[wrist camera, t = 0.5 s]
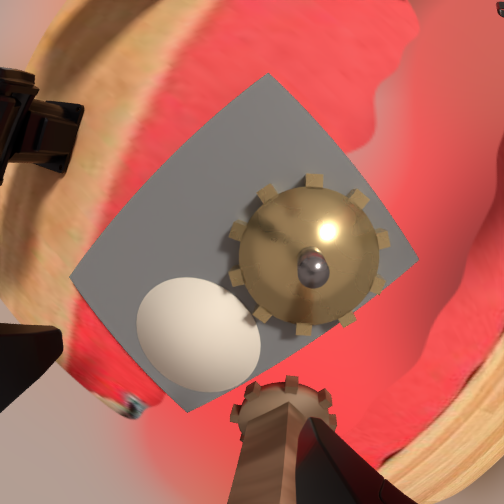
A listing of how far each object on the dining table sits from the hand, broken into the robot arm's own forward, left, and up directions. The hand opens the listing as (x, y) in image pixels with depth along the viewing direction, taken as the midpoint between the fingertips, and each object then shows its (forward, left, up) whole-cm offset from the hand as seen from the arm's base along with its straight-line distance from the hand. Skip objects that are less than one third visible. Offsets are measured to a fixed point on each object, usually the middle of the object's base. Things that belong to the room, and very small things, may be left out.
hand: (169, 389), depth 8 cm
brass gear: (+4, +4, -12) cm, 13 cm away
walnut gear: (+8, -11, -13) cm, 19 cm away
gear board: (-2, 0, -13) cm, 13 cm away
